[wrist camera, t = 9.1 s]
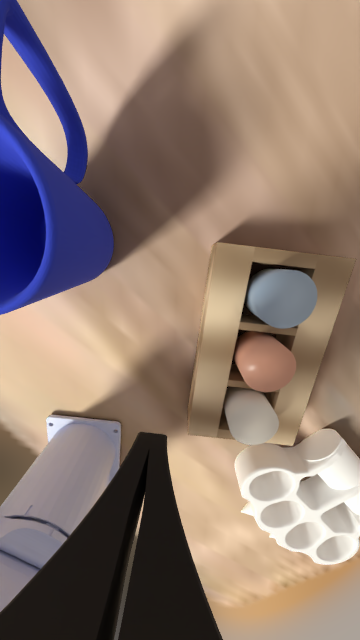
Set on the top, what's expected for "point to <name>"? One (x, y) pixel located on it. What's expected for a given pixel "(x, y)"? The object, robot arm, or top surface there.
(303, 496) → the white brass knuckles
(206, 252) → the top surface
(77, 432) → the robot arm
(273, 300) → the pale blue rounded lump
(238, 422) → the pale grey rounded piece
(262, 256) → the wooden compartment tray
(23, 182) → the mug
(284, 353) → the pink egg
